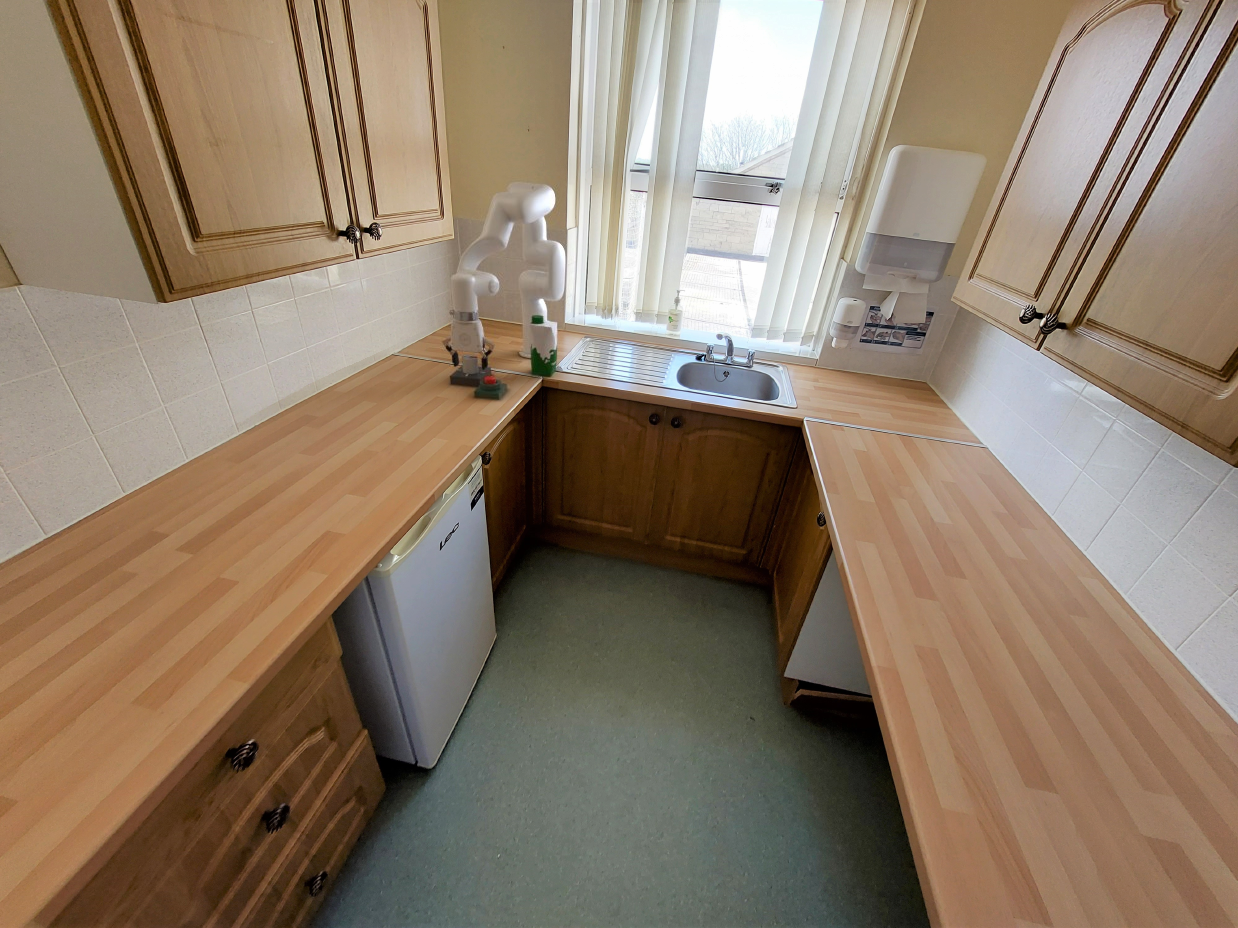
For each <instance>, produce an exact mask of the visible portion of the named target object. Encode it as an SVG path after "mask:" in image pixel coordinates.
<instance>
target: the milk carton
mask: <svg viewBox="0 0 1238 928" xmlns="http://www.w3.org/2000/svg"><path fill="white" fill-rule="evenodd" d="M529 327H530V344H531V358H530V366H531V367H530V370H531V371H530V372H531V373H530V374H531V375H532V376H533V375H534V376H540V377H550V378H551V377H552V376H553V375H554V373H555V372H556V371H557V364H558V322H557V321H551V320H547V321H544V319H543V316H540V315H533V316H532V322H531V323H530V325H529Z"/></svg>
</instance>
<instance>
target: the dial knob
mask: <svg viewBox="0 0 1238 928" xmlns="http://www.w3.org/2000/svg"><path fill="white" fill-rule="evenodd" d="M461 366H462V367H463V372H464V373H466V374H475V373H478V372H479V366H480V365H479V356H478V355H475V354H464V355H462V356H461Z"/></svg>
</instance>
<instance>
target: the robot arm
mask: <svg viewBox="0 0 1238 928" xmlns="http://www.w3.org/2000/svg"><path fill="white" fill-rule="evenodd" d="M555 204H556V196H555V192H554V189H553V188H552V187H551V186H549V185H548V184H546V183H545V184H544V183H537V182H528V181H527V182H525V181H515V182H514V181H513V182H511V183H509V184H508V185H507V187H506V191H499V192H497V193H495V194H494V195H493V196H492V199H491V202H490V205H489V207H488V211H487V215H486V218H485V221H484V224H483V227H482V231H481V233H480V235H479V237H478V238H476V239H475V240H474V241H473V242H471V243H470V245H469V246H467V248H466V249H465V250H464V251H463V253H462V254H461V257H460V259H459V262H458V266H457V269H456V273H455V274H452V275H451V276H450V289H451V298H452V309H451V310H449V312H448V313H449V315H451V316H453V318H452V319H451V320H450V321H451V322H450V336H448V337H447V338H444V339H443V340H442V341H441V343H442V344H443V346H444V347H445V350H447V351H448V353H449V354H450V356H451V362H452V364H453V367H454V368H456V367H457V366H459V365H460V358H459V357H460V356H459V353H458V352H462V353H470V354H471V353H472V354H479V355H481V359H480V361H481V366H482V369H483V370H485V369H486V368H487V367H489V358H488V357H489V356H490V355H491V354H492V353H493V351H494V349H495V347H496V345H495V343H494V342H491V341H489V340H488V339H486V338H485V332H484V327H483V324H482V321H481V319H479V307H478V306H479V305H478V298H492V297H494V296H495V295H496V294H498V292H499V290H500V282H499V281H500V280H499V279H498V278H497V276H495V275H494V274H493V273H490V272H488V271H482V270H478V269H477V268H478V266H479V265H480V264H481V262H483V260H484V259H486V258H488V257H490V256H492V255H495V254H498V253H499V252H502V251H504V250H505V249H507V247H508V244H509V241H510V238H511V234H512V231H513V227H514V225H515V223H516V224H521V230H522V231H521V234H522V237H521V239H522V241H521V242H522V243H521V244H522V245H521V247H522V248H521V251H522V259H523V262H524V263H525V264H526V265H528V266H530V267H535V268H539V269H546V272H545V271H541V270H535V269H527V270H524V271H522V273H520V275H519V277H518V282H517V283H518V284H517V285H518V290H519V294H520V299H521V300H520V301H521V322H522V323H521V324H522V327H521V328H522V348H523V349H522V348H521V349H522V350H520V349H519V350H520V351H523V352H519V351H518V354H519V355H520V356H521V357H523V358H526V359H531V344H530V327H529V325H530V323H531V322H532V316H533V315H540V316H543V319H544V321H548V307H547V304H546V302H545V301H548V302H549V301H550V302H558V301H560V300H561V299H562V298H563V296H564V293H565V286H566V251H565V249H564V247H563V245H562V244H561V243H560V242H558V241H557V240H551V239H548V238H547V222H546V219H545V216H547V215H548V214H550V213H551V212H552V210H553V209H554V207H555ZM449 342H450V343H449ZM486 346H487V347H488V350H486V349H485V348H486ZM522 354H523V355H522ZM525 355H526V356H525Z"/></svg>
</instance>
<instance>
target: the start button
mask: <svg viewBox="0 0 1238 928" xmlns="http://www.w3.org/2000/svg"><path fill="white" fill-rule="evenodd" d="M484 379H485V384H496V379H497V376H493V375H491V376H487V377H485V378H484Z"/></svg>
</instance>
